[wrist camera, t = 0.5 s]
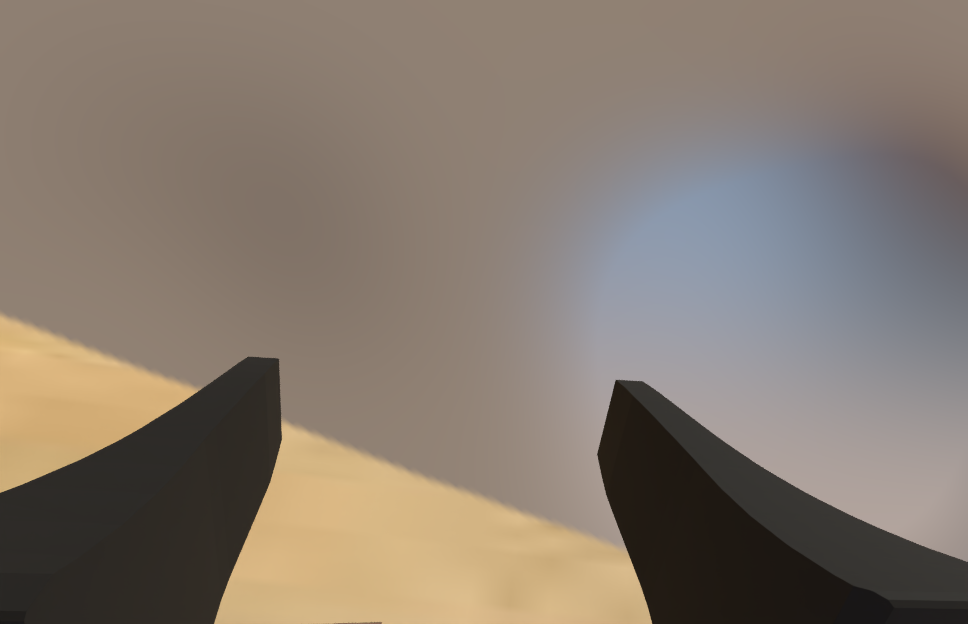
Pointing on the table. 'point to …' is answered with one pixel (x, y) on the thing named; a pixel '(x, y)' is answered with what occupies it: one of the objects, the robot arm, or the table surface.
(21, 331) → the table surface
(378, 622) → the fader console
